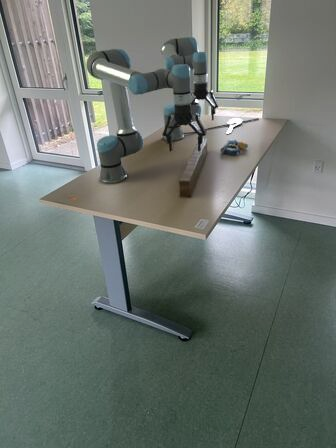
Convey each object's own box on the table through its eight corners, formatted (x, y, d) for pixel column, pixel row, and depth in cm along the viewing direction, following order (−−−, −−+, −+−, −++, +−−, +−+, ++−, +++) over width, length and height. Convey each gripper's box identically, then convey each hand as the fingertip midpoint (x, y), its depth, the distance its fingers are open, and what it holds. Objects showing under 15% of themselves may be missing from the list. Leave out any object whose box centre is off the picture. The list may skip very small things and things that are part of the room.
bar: (199, 152, 218) (199, 138, 213) (207, 152, 217) (207, 138, 212) (180, 196, 165) (178, 180, 161) (190, 197, 164) (189, 181, 159)
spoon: (235, 136, 245) (235, 133, 244) (220, 135, 249) (220, 132, 248) (243, 120, 272) (243, 117, 270) (230, 120, 275) (230, 117, 274)
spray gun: (250, 145, 220) (228, 144, 226) (250, 139, 217) (228, 138, 224) (241, 157, 204) (218, 155, 211) (242, 150, 202) (218, 149, 208)
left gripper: (153, 106, 146) (157, 152, 157) (209, 104, 140) (210, 153, 151) (157, 102, 152) (161, 147, 163) (212, 100, 146) (212, 147, 158)
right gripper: (177, 84, 190) (180, 122, 201) (222, 82, 184) (221, 121, 195) (180, 82, 196) (182, 118, 207) (223, 80, 191) (222, 118, 202)
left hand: (185, 150), depth 157 cm, fingers open, 13 cm apart
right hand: (201, 120), depth 202 cm, fingers open, 13 cm apart
